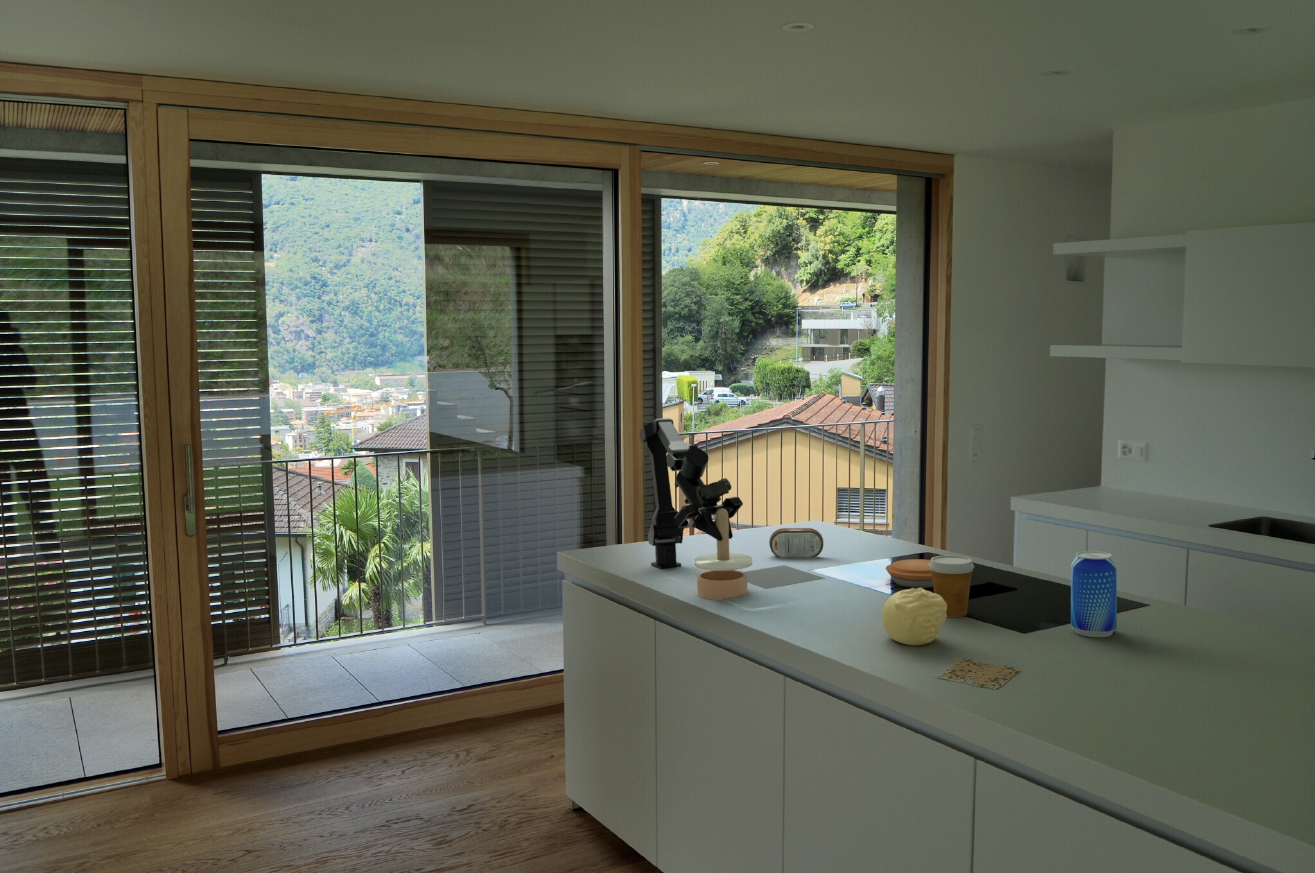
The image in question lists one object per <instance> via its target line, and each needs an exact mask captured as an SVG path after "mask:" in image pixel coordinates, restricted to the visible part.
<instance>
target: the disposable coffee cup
mask: <svg viewBox="0 0 1315 873" xmlns="http://www.w3.org/2000/svg"><path fill="white" fill-rule="evenodd" d="M930 560H931V561H930V564H929V567H930V570H931V574H932V580H933V587H932V588H933V593H935V594H938V595H940V596H941V597H942V598H943V599H944V601H945V602H946V604H947V611H946V614H947V617H946V618H961V617H965V616H967V614H968V606H969V597H970V590H971V582H972V575H973V574H972V572H973V570H974V568H975V565H974V564H973V560H972V558H970V557H967V556H963V555H962V556H961V555H951V554H949V555H945V554H944V555H937V556H933V557H931V558H930Z"/></svg>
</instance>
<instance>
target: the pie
mask: <svg viewBox="0 0 1315 873" xmlns="http://www.w3.org/2000/svg"><path fill="white" fill-rule="evenodd" d="M930 561H931V559H922V558H921V559H919V558H918V559H917V558H916V559H915V558H914V559H913V558H911V559H908V558H907V559H901V560H896V561H893V562H892V563H891V564H888V565H886V567H885V571H887V573H888V574H889V576H890V577H891V579H892V580H893V582H894V584H896V585H898V586H901V587H905V588H911V589H912V588H914V589H918V588H923V589H927V588H933V580H932V574H931V570H930V567H929V564H930Z"/></svg>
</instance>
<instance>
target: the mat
mask: <svg viewBox="0 0 1315 873" xmlns="http://www.w3.org/2000/svg"><path fill="white" fill-rule="evenodd" d="M743 572H744V573H746V574H747V584H751V585H753V586H757V587H759V588H762V589H765V590H767V589H774V588H777V587H784V586H790V585H795V584H796V585H797V584H801V583H807V582H812V581H818V580H824V579H825V580H826V578H825V577H823V576H820V575H818V574H817V575H816V574H814V573H810V572H808V571H804V570H801V569H797V568H795V567H791V566H788V565H786V564H784V565H778V566H771V567H766V568H764V567H763V568H760V569H759V568H758V569H754V570H749V571H743Z"/></svg>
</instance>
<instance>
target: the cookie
mask: <svg viewBox="0 0 1315 873" xmlns="http://www.w3.org/2000/svg"><path fill="white" fill-rule="evenodd" d="M954 662H955V663H953V662H952V663H951V664H953V665H951V666H953V667H949V668H951V669H946V670H947V671H951V672H948V673H949V674H948V673H943V675H946V676H943V675H942V677H948V679H954V680H960V679H961V680H962V679H963V680H964V681H963V682H973V683H972V684H978V685H981V686H989V687H990V686H1001V684H1002V682H1004V681H1006V680H1008V679H1010V677H1013V675H1015V676H1016V673H1018V672H1019V673H1021V671H1020V670H1021V669H1017V668H1014V667H1013V666H1007V665H1000V664H993V663H992V664H991V663H986V662H981V661H979V660H978V661H976V660H973V659H966V658H963V659H962V658H958V659H956V660H955V661H954ZM956 662H957V663H956ZM972 671H973V672H972ZM974 671H975V672H974ZM964 673H965V674H964ZM969 673H971V674H969ZM973 673H975V674H973ZM1019 673H1018V674H1019ZM949 675H950V676H949ZM967 675H974V676H967ZM938 677H941V676H938ZM959 677H960V678H959ZM966 677H969V678H966ZM971 677H972V678H971ZM1013 678H1014V677H1013ZM965 679H966V680H968V679H969V680H974V681H966V680H965ZM1010 680H1011V679H1010ZM1000 682H1001V683H1000ZM996 684H999V685H996ZM993 688H995V687H993Z"/></svg>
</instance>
